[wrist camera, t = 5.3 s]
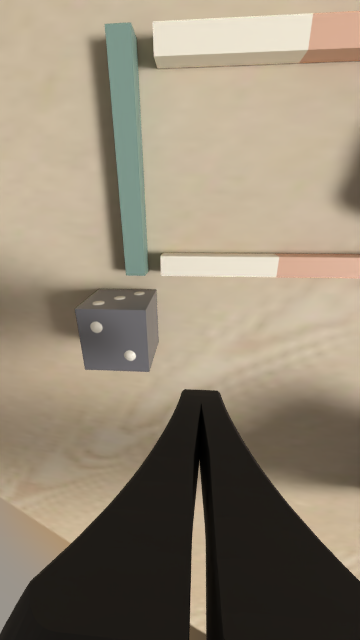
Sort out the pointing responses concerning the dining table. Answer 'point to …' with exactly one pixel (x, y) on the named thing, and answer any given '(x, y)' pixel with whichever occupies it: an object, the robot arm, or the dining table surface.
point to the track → (205, 51)
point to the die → (118, 329)
